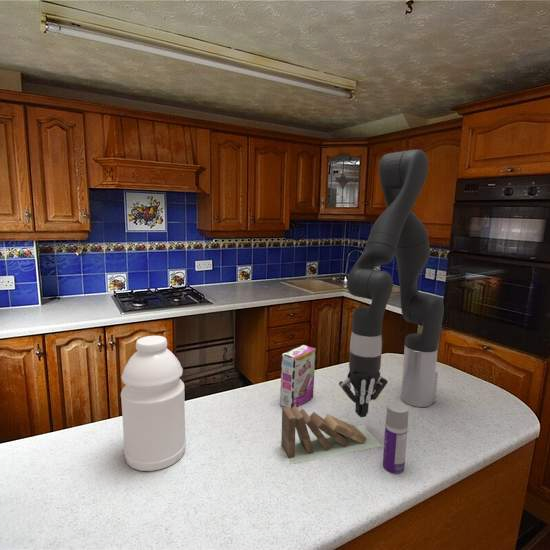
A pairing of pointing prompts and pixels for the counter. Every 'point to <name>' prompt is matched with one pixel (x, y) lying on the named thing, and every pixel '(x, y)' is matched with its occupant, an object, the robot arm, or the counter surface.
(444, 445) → the counter surface
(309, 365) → the candy bar box
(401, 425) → the container
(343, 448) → the mat
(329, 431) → the domino
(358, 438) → the domino
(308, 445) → the domino
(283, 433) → the domino
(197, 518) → the counter surface
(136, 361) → the bottle
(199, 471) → the counter surface
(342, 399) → the counter surface
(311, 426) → the domino
